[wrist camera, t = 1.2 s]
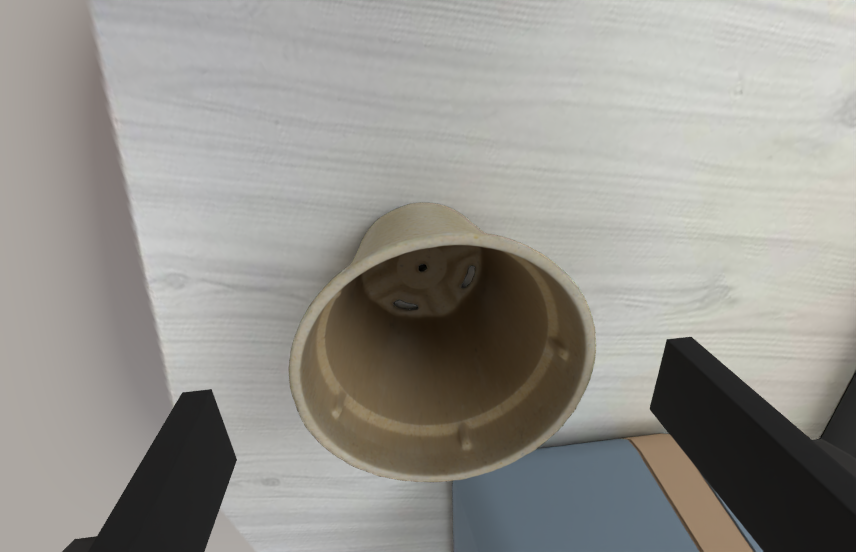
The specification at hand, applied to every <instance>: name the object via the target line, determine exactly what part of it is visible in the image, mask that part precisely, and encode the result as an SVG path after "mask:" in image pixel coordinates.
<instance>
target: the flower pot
mask: <svg viewBox="0 0 856 552" xmlns="http://www.w3.org/2000/svg"><path fill="white" fill-rule="evenodd" d="M421 264H425V265H426V266H427V269H426V270H425V271H419V269H418V267H419V265H421ZM470 266H474V267H475V274H474V276H473V278H472V281H471V283H470V284H469V285H467V286H466V287H462V284H463V282H464V280H465V277H466V275H467V273H468V269H469V267H470ZM397 300H402V301H404V302H406V303H410V304H415V305H417V306H418V309H406V308H400V307H397V306H395V305H394V302H395V301H397ZM595 333H596V332H595V327H594V323H593V318H592V315H591V312H590V309H589V307H588V304H587V302H586V300H585V298H584V296H583V294H582V292H581V291H580V289H579V287H578V286H577V285H576V284H575V282H574V281H573V280H572V279H571V278H570V277H569V276H568V275H567V274H566V273H565V272H564V271H563V270H562V269H561V268H560V267H559V266H557V265H556V264H555V263H554V262H553V261H551V260H550V259H549V258H547V257H546V256H544V255H543V254H541V253H539V252H538V251H536V250H534V249H532V248H531V247H529V246H527V245H524V244H522V243H520V242H517V241H514V240H511V239H509V238H505V237H501V236H498V235H492V234H487V233H484V232H483V231H482V230H480V229H479V228H478V227H477V226H475V225H474V224H473V223H472V222H471V221H469V220H468V219H467V218H466V217H465V216H463V215H462V214H460V213H459V212H457V211H456V210H453V209H451V208H449V207H446V206H443V205H439V204H434V203H412V204H408V205H405V206H402V207H400V208H397V209H395V210H393V211H391V212H389V213H387V214H385V215H384V216H382V217H381V218H379V219H378V220H377V221H376V222H375V223H374V224H373V225H372V226H371V227H370V228H369V230H368V231H367V233H366V234H365V236H364V237H363V239H362V241H361V244H360V246H359V249H358V251H357V253H356V255H355V257H354V259H353V261H352V263H351V265H349V266H348V267H346V268H345V269H344V270H343V271H341V272H340V273H339V274H338V275H337V276H336V277H334V278H333V279H332V280H331V281H330V282H329V283H328V284H327V285H326V286H325V287H324V288H323V289H322V291H321V292H320V293H319V294H318V296H317V297H316V298H315V299H314V301H313V302H312V303H311V305H310V306H309V308H308V309H307V311H306V313H305V315H304V317H303V318H302V320H301V322H300V325H299V327H298V329H297V332H296V335H295V337H294V340H293V344H292V348H291V353H290V360H289V381H290V389H291V393H292V396H293V399H294V401H295V404H296V407H297V411H298V412H299V414H300V417H301V419H302V421H303V422H304V425H305V426H306V428H307V429H308V430H309V432H310V433H311V434H312V435H313V436H314V437H315V439H316V440H317V441H318V442H319V443H320V444H321V445H322V446H323V447H325V448H326V449H327V450H328V451H330V452H331V453H332V454H333V455H335V456H337V457H338V458H340V459H342V460H343V461H345V462H346V463H348V464H349V465H351V466H353V467H356V468H358V469H360V470H365V471H366V472H369V473H372V474H375V475H377V476H380V477H387V478H391V479H397V480H402V481H414V482H443V481H452V480H462V479H467V478H470V477H474V476H478V475H481V474H484V473H488V472H492V471H494V470H496V469H499V468H502V467H503V466H507V465H509V464H511V463H513V462H515V461H516V460H518V459H520V458H522V457H523V456H525V455H527V454H529V453H531V452H533V451H535V450H536V448H538V447H539V446H540V445H542V444H543V443H544V442H546V441H547V440H548V439H549V438H550V437H551V436H553V435H554V434H555V433H556V432H557V431H558V430H559V429H560V428H561V427H562V426H563V425H564V423H565V422H566V420H567V419H568V418H569V417H570V416H571V414H572V413H573V412H574V410H575V409H576V407H577V405H578V403H579V402H580V400H581V398H582V396H583V394H584V392H585V390H586V388H587V385H588V383H589V381H590V378H591V374H592V371H593V366H594V361H595V353H596V337H595Z"/></svg>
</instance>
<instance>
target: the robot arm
mask: <svg viewBox="0 0 856 552" xmlns="http://www.w3.org/2000/svg"><path fill="white" fill-rule="evenodd" d="M650 410H651V412H652V413H653V414H654V415H655V417H656V418H657V419H658V420H659V422H660V423H661V424H662V425H663V427H664V428H665V429H666V430H667V432H668V433H669V434H670V435H671V437H672V438H673V439H674V440H675V442H676V443H677V444H678V445H679V447H680V448H681V449H682V450H683V452H684V453H685V454H686V455H687V457H688V458H689V459H690V460H691V462H692V463H693V464H694V465H695V467H696V468H697V469H698V470H699V472H700V473H701V474H702V475H703V477H704V478H705V479H706V480H707V482H708V483H709V484H710V485H711V487H712V488H713V489H714V490H715V492H716V493H717V494H718V495H719V497H720V498H721V499H722V500H723V502H724V503H725V504H726V505H727V507H728V508H729V509H730V510H731V512H732V513H733V514H734V515H735V517H736V518H737V519H738V520H739V522H740V523H741V524H742V525H743V527H744V528H745V529H746V530H747V532H748V533H749V534H750V535H751V537H752V538H753V539H754V540H755V542H756V543H757V544H758V545H759V547H760V548H761V549H762V550H763V552H856V459H855V458H854V457H853V456H852V455H850V454H848V453H846V452H844V451H843V450H841V449H839V448H837V447H835V446H834V445H832V444H830V443H828V442H827V441H825V440H823V439H817V440H811V439H810V438H809V437H808V436H806V435H805V434H804V433H803V432H802V431H801V430H799V429H798V428H797V427H796V426H795V425H794V424H792V423H791V422H790V421H789V420H788V419H787V418H785V417H784V416H783V415H782V414H781V413H780V412H778V411H777V410H776V409H775V408H774V407H773V406H771V405H770V404H769V403H768V402H767V401H766V400H764V399H763V398H762V397H761V396H760V395H759V394H757V393H756V392H755V391H754V390H753V389H752V388H750V387H749V386H748V385H747V384H746V383H745V382H743V381H742V380H741V379H740V378H739V377H738V376H736V375H735V374H734V373H733V372H732V371H731V370H729V369H728V368H727V367H726V366H725V365H724V364H722V363H721V362H720V361H719V360H718V359H717V358H715V357H714V356H713V355H712V354H711V353H710V352H708V351H707V350H706V349H705V348H704V347H703V346H701V345H700V344H699V343H698V342H697V341H696V340H694V339H693V338H692V337H685V338H676V339H667V341H666V345H665V349H664V353H663V357H662V361H661V365H660V369H659V373H658V377H657V381H656V385H655V389H654V393H653V397H652V401H651V405H650ZM236 461H237V459H236V456H235V453H234V450H233V448H232V445H231V442H230V439H229V436H228V434H227V431H226V428H225V425H224V423H223V420H222V417H221V414H220V412H219V409H218V406H217V403H216V400H215V398H214V395H213V392H212V389H210V390H201V391H192V392H183V393H182V394H181V396H180V398H179V399H178V401H177V403H176V404H175V406H174V408H173V409H172V411H171V413H170V414H169V416H168V418H167V419H166V421H165V423H164V425H163V426H162V428H161V430H160V431H159V433H158V435H157V436H156V438H155V440H154V441H153V443H152V445H151V446H150V448H149V450H148V452H147V453H146V455H145V457H144V458H143V460H142V462H141V463H140V465H139V467H138V468H137V470H136V472H135V473H134V475H133V477H132V478H131V480H130V482H129V483H128V485H127V487H126V489H125V490H124V492H123V494H122V495H121V497H120V499H119V501H118V502H117V504H116V506H115V507H114V509H113V510H112V512H111V514H110V516H109V517H108V519H107V521H106V522H105V524H104V526H103V528H102V529H101V531H100V532H99V534H98V536H96V537H88V538H81V539H74V541H73V542H72V543H71V544H69V546H67V547H66V548H65V549H64V550H63V552H204V551H205V548H206V545H207V542H208V539H209V537H210V534H211V531H212V528H213V526H214V523H215V520H216V517H217V514H218V512H219V509H220V506H221V503H222V500H223V497H224V495H225V492H226V489H227V486H228V483H229V480H230V478H231V475H232V472H233V469H234V466H235V463H236Z"/></svg>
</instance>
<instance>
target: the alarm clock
mask: <svg viewBox="0 0 856 552" xmlns="http://www.w3.org/2000/svg"><path fill="white" fill-rule="evenodd" d="M452 492H453V542H454V552H763V550H762V549H761V548H760V547H759V545H758V544H757V543H756V542H755V540H754V539H753V538H752V537H751V535H750V534H749V533H748V532H747V530H746V529H745V528H744V527H743V525H742V524H741V523H740V522H739V520H738V519H737V518H736V517H735V515H734V514H733V513H732V512H731V510H730V509H729V508H728V507H727V505H726V504H725V503H724V502H723V500H722V499H721V498H720V497H719V495H718V494H717V493H716V492H715V490H714V489H713V488H712V487H711V485H710V484H709V483H708V482H707V480H706V479H705V478H704V477H703V475H702V474H701V473H700V472H699V470H698V469H697V468H696V467H695V465H694V464H693V463H692V462H691V460H690V459H689V458H688V457H687V455H686V454H685V453H684V452H683V450H682V449H681V448H680V447H679V445H678V444H677V443H676V442H675V440H674V439H673V438H672V437H671V435H670V434H653V435H645V436H637V437H629V438H623V439H613V440H605V441H597V442H589V443H581V444H573V445H565V446H556V447H548V448H540V449H536V450H535V451H533V452H531V453H529V454H527V455H525V456H523V457H522V458H520V459H518V460H516V461H515V462H513V463H511V464H509V465H507V466H503V467H502V468H499V469H496V470H494V471H492V472H488V473H484V474H481V475H478V476H474V477H470V478H467V479H462V480H454V481H453V484H452Z"/></svg>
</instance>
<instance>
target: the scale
mask: <svg viewBox="0 0 856 552" xmlns="http://www.w3.org/2000/svg"><path fill="white" fill-rule="evenodd" d="M821 439H823V440H825V441H827V442H828V443H830V444H832V445H834V446H835V447H837V448H839V449H841V450H843V451H844V452H846V453H848V454H850V455H852V456H853V457H854V458H855V459H856V374H855V376H854V377H853V379H852V381H851V383H850V385H849V387H848V389H847V391H846V392H845V394H844V396H843V398H842V400H841V402H840V404H839V406H838V407H837V409H836V411H835V413H834V415H833V417H832V419H831V421H830V423H829V424H828V426H827V428H826V430H825V432H824V434H823V436H822V438H821Z"/></svg>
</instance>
